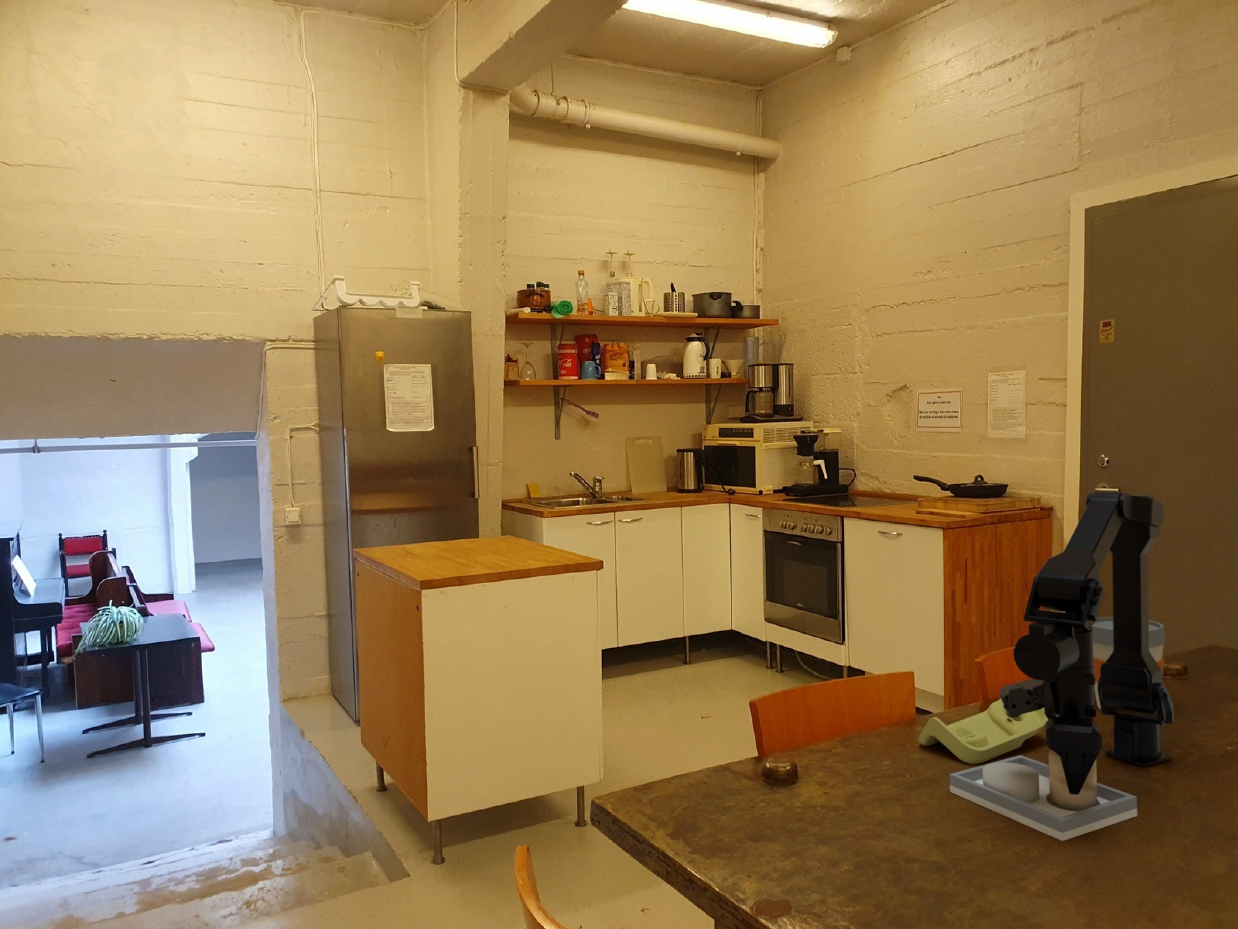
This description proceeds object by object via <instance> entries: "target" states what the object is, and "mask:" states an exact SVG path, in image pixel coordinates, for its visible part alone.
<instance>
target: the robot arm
mask: <svg viewBox="0 0 1238 929" xmlns="http://www.w3.org/2000/svg"><path fill="white" fill-rule="evenodd" d="M1083 511H1084V512H1083V513H1082V516H1081V517H1080V519H1079V521H1078V523H1077V524H1076V527H1075V528H1074V531H1073V533H1072V535H1071V537H1070V538H1069V540H1068V542H1067V544H1066V546H1065V548H1064V550H1063V551H1062V552H1060V553H1059V554H1057V555H1055V556H1052V557H1050V558H1048V559H1047V561H1046V562H1045V563H1043V565H1042V566H1041V568H1040V569H1039V571H1038V573H1037V574H1036V575H1035V577H1034V578H1033V580H1032V585H1031V587H1030V588H1031V589H1030V592H1029V595H1028V598H1027V599H1028V600H1027V605H1026V608H1025V612H1024V615H1023V621H1024V622H1028V623H1029V622H1030V623H1029V624H1028V633H1027V634H1026V635H1025V634H1024V635H1023V636H1021V637H1020V638H1019V639H1018V640H1017V642H1016V643H1015V645H1014V649H1013V653H1012V654H1013V660H1014V662H1015V665H1016V666H1017V668H1018V669H1019V671H1020V672H1021V673H1023V674H1024V675H1025V676H1027V677H1028V678H1030V679H1026V680H1022V681H1018V682H1014V683H1010V684H1007V685H1004V686H1002V687H1000V690H999V697H1000V699H1001V700H1002V702H1003V707H1004V709H1006V712H1007V714H1008V716H1009V718H1015V717H1019V716H1020V715H1021V714H1025V713H1028V712H1032V711H1036V710H1040V709H1042V708H1044V714H1045V716H1046V717H1047V718H1048V721H1047V722H1045V725H1044V727H1045V746H1046V747H1047V748H1048V749H1049V751H1050V750H1053V751H1054V752H1055V753H1056V754H1058V755H1059V756H1060V758H1061V762H1062V766H1063V770H1064V774H1065V778H1066V782H1067V786H1068V790H1069V793H1070V794H1074V795H1078V794H1079V793H1080V791H1081V789H1082V787H1083V785H1084V783H1085V780H1086V778H1087V776H1088V774H1089V772H1090V770H1091V768H1092V766H1093V764H1094V762H1095V760H1096V761H1097V758H1098V756H1099V755H1100V754H1101V752H1102V751H1103V735H1102V734H1103V733H1102V730H1101V726H1100V725H1098V724H1097V723H1096V722H1095V717H1097V708H1096V705H1095V704H1096V703H1095V701H1096V695H1095V688H1094V685H1095V675H1094V659H1093V629H1092V625H1093V624H1095V621H1096V620H1097V618H1099V613H1100V610H1101V607H1102V604H1103V602H1104V599H1105V596H1106V595H1105V589H1104V586H1103V582H1102V580H1101V576H1100V571H1101V569H1102V567H1103V564H1104V562H1105V560H1106V557H1107V556H1108V553H1109V552H1110V554H1111V569H1112V570H1111V572H1112V573H1111V575H1112V617H1113V652H1112V654H1111V655H1110V656H1109V658H1108V659H1107V661H1106V662H1105V663H1103V664H1102V666H1101V667H1100V675H1101V676H1100V678H1099V681H1098V695H1099V701H1100V706H1101V709H1100V710H1101V715H1103V716H1112V717H1113V729H1112V735H1113V736H1112V737H1113V740H1112V741H1113V742H1112V743H1113V745H1112V746H1113V747H1112V748H1110V749H1106V750H1104V753H1105V755H1107V756H1110V757H1113V758H1114V759H1119V760H1121V761H1125V762H1128V763H1132V764H1134V765H1137V766H1141V767H1149V766H1152V765H1155V764H1159V763H1162V762H1166V761H1169V760H1171V759H1172V755H1171V754H1168V753H1165V752H1162V730H1161V728H1162V727H1161V726H1164V725H1169V724H1174V722H1175V720H1174V718H1175V717H1174V714H1175V710H1174V708H1175V707H1174V705H1175V704H1174V702H1173V700H1172V698H1171V695H1170V693H1169V691H1168V689H1167V686H1166V685H1165V684H1164V683H1163V676H1162V670H1161V668H1160V667H1159V665H1158V664H1157V662H1156V661H1155V659H1154V658H1153V656H1152V655H1151V653H1150V652H1149V620H1150V619H1149V564H1148V563H1149V561H1148V559H1149V552H1150V551H1151V550H1152V548H1153V547H1154V545H1155V544H1156V542H1157V541H1158V540H1159V538H1160V536H1161V527H1162V526H1163V524H1164V520H1165V509H1164V505H1163V504H1162V502H1160V501H1159V500H1156V498H1155V497H1154V495H1152V494H1130V493H1125V492H1123V491H1110V490H1109V491H1103V490H1102V491H1101V490H1100V491H1097V490H1095V491H1093V492H1089V493H1088V494H1087V498H1086V501H1085V509H1084V510H1083ZM1041 608H1042V609H1043V610H1042V609H1041Z"/></svg>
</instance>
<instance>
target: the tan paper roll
mask: <svg viewBox="0 0 1238 929" xmlns="http://www.w3.org/2000/svg"><path fill="white" fill-rule="evenodd" d="M1048 765H1049V787H1050V800H1051V801H1052V802H1054V803H1056V804H1058V805H1060V806H1064V807H1068V808H1074V809H1088V808H1091V807H1094V806H1096V805H1097V783H1098V782H1097V778H1098V777H1097V759H1096V760H1095V762H1094V764H1093V766H1092V768H1091V770H1090V772H1089V774H1088V776H1087V778H1086V780H1085V783H1084V785H1083V787H1082V789H1081V791H1080V793H1079V794H1078V795H1074V794H1070V793H1069V790H1068V786H1067V782H1066V778H1065V774H1064V770H1063V766H1062V762H1061V758H1060V756H1059V755H1058V754H1056V753H1055V752H1054V751H1053V750H1050V749H1049V751H1048Z"/></svg>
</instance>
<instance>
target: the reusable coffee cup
mask: <svg viewBox="0 0 1238 929" xmlns="http://www.w3.org/2000/svg"><path fill="white" fill-rule="evenodd" d="M1092 629H1093V659H1094V675H1095V685H1094V696H1095V701H1096V706H1097V708H1098V709H1100V710H1101V706H1100V701H1099V695H1098V681H1099V678H1100V676H1101V675H1100V667H1101V666H1102V664H1103V663H1105V662H1106V661H1107V659H1108V658H1109V656H1110V655H1111V654H1112V652H1113V616H1103V617H1101V616H1100V617H1099V616H1098V617H1097V620H1096V621H1095V624H1093V625H1092ZM1166 641H1167V640H1166V634H1165V626H1164V624H1162V623H1160V622H1158V621H1155V620H1151V619H1149V652H1150V653H1151V655H1152V656H1153V658H1154V659H1155V661H1156V662H1157V664H1158V665H1159V667H1160V668H1161V670H1162V677H1163V675H1164V666H1165V657H1164V656H1163V653H1164V645H1165V644H1166V643H1167V642H1166Z"/></svg>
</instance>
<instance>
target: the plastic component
mask: <svg viewBox="0 0 1238 929" xmlns="http://www.w3.org/2000/svg"><path fill="white" fill-rule="evenodd" d="M1048 720H1049V719H1048V718H1047V717H1046V716H1045V714H1044V708H1042V709H1040V710H1036V711H1032V712H1028V713H1025V714H1021V715H1020V716H1019V717H1015V718H1009V716H1008V714H1007V712H1006V709H1004V707H1003V702H1002V700H1001V698H999V699H998V700H996V701H994V702H992V703H991V704H990V705H989V707H988V708H987V709H986V710H985V711H982V712H980V713H977V714H975V715H972V716H969V717H967V718H963V719H960V720H958V721H956V722H955V721H954V722H953V723H950V724H948V725H946V724H945V723H944V722H943V721H942V720H941V719H940V718H938V717H936V716H933V717H930V718H929V719H928V720H927V722H926V724H925V726H924V727H923V728H922V731H921V732H920V735H919V736H918V742H919V743H920V744H922V746H925V747H929V746H931V745H935V744H937V743H939V742H940V743H941V744H942V745H944V746H945V747H946V748H947V749H948V750H949V751H950V752H952V754H953V755H955V756H956V757H957V758H958V759H959V760H960V761H962V762H964V763H967V764H969V765H970V764H971V765H978V764H982V763H984V762H987V761H989V760H992V759H994V758H997V757H999V756H1001V755H1004V754H1006V753H1009V752H1011V751H1014V750H1015V749H1016V750H1017V749H1019V748H1021V746H1023V743H1024V742H1025V740H1027V739H1030V738H1032V737H1033V736H1035V735H1037V734H1038V733H1039V732H1040V730H1042V729H1043V728H1044V727H1045V722H1047V721H1048Z"/></svg>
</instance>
